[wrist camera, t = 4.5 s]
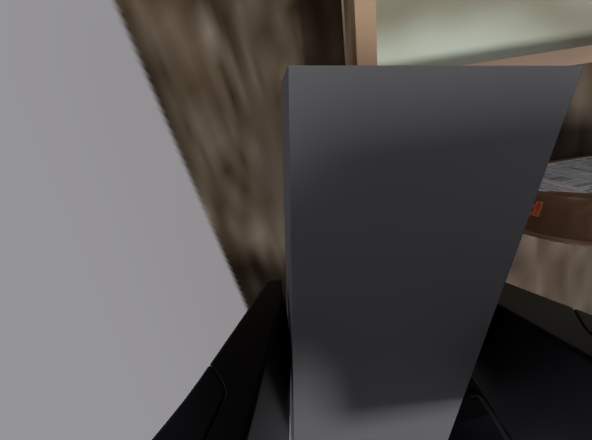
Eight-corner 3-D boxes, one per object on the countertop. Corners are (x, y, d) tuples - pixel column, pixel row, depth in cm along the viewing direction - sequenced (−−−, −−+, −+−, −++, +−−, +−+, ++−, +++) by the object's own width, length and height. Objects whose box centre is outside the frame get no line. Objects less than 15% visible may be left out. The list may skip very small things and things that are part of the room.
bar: (381, 369, 12) (430, 489, 8) (288, 375, 12) (294, 502, 8) (431, 81, 7) (583, 65, 4) (281, 82, 7) (288, 64, 4)
